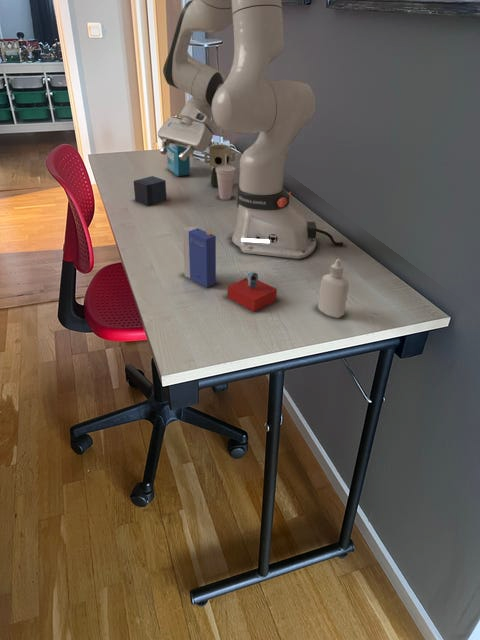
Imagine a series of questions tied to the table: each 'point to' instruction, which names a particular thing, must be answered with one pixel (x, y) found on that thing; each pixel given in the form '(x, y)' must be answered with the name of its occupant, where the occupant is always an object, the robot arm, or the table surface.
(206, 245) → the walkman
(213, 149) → the character mug
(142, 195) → the bin
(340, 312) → the eye dropper bottle
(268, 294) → the red slab
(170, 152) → the data package
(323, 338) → the table surface
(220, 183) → the smoothie
